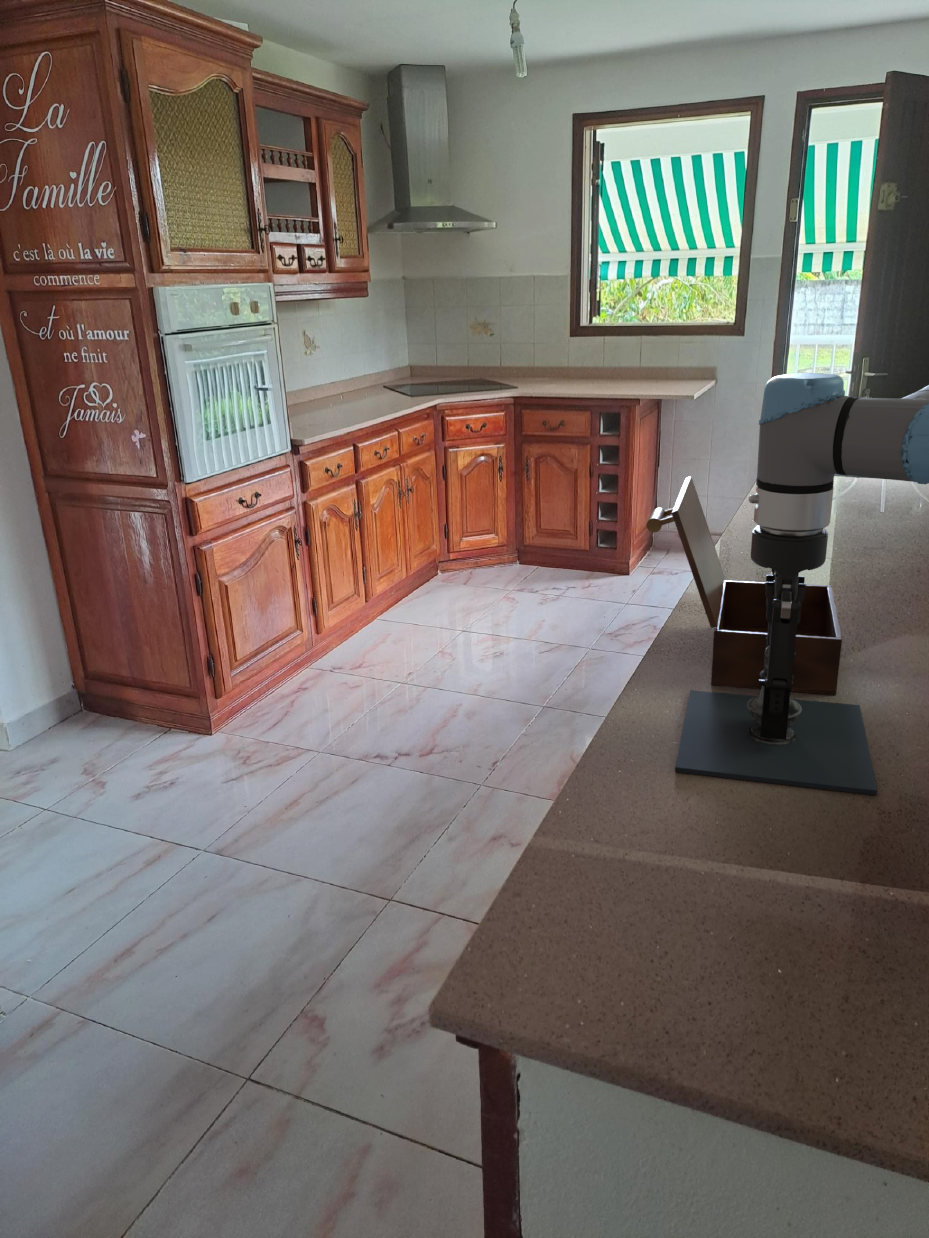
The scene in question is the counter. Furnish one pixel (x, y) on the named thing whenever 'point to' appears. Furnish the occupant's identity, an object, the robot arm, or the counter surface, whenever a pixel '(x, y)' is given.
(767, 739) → the salt shaker
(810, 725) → the mat
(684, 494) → the bread box lid
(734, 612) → the bread box
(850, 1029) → the counter surface
